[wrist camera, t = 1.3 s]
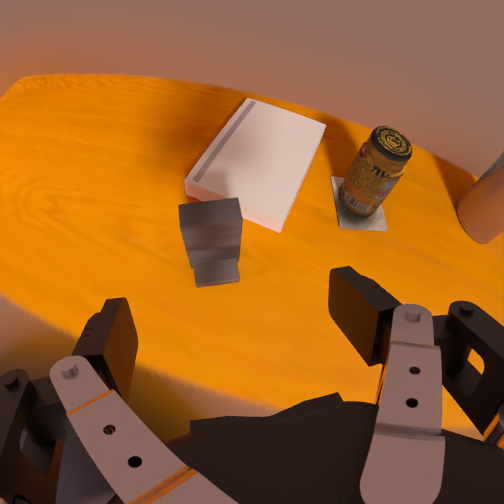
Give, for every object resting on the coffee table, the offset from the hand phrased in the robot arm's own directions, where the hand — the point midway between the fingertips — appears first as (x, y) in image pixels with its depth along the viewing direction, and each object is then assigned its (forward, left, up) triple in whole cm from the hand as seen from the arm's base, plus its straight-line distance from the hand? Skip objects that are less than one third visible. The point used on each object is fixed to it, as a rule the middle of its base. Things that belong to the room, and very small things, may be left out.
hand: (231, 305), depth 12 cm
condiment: (-23, -14, -22) cm, 34 cm away
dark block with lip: (-1, -10, -21) cm, 24 cm away
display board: (-12, -24, -21) cm, 34 cm away
